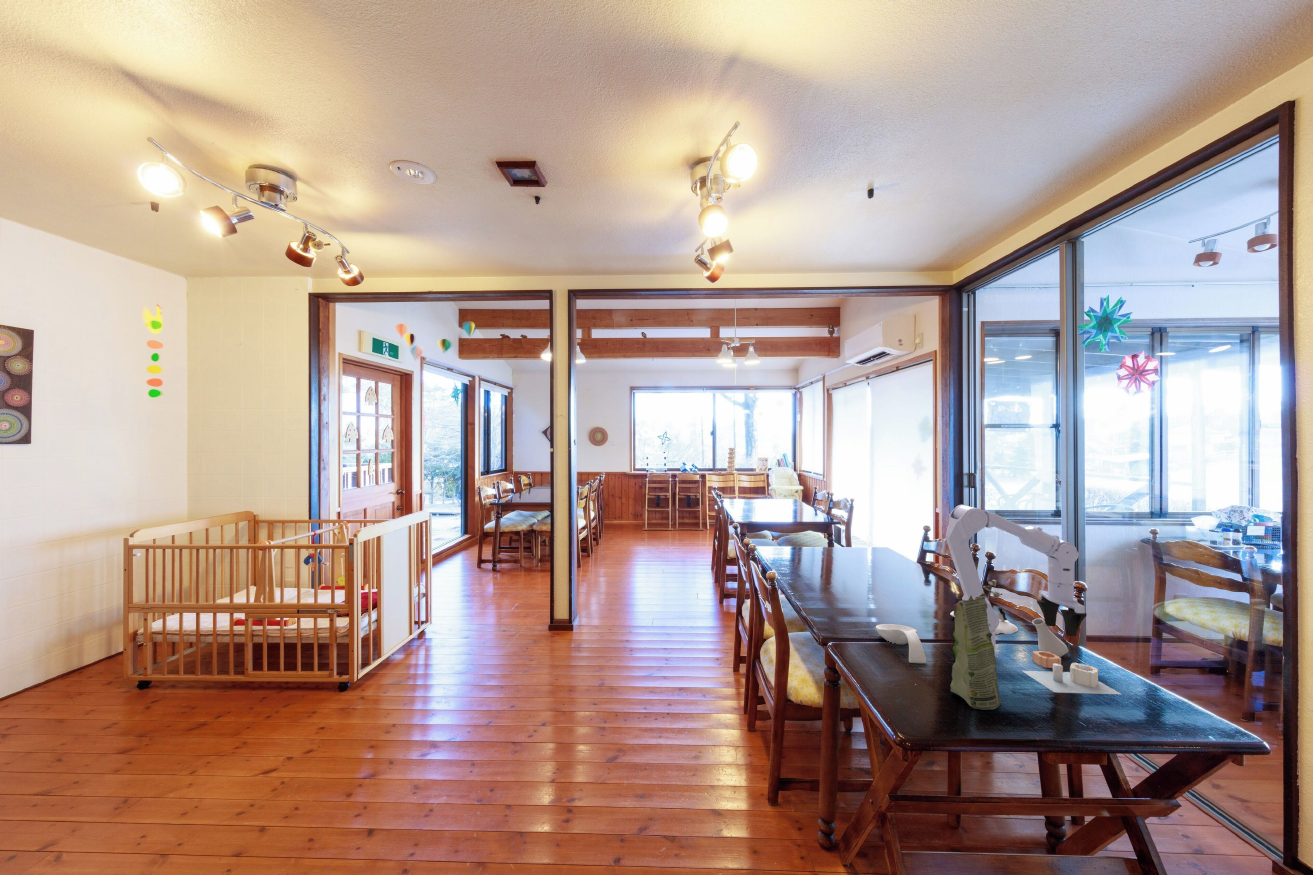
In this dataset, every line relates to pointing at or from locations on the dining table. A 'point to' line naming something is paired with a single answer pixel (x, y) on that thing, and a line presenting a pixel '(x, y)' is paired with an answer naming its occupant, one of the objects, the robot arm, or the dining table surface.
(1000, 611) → the figurine
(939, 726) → the dining table surface
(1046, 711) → the dining table surface
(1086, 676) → the gear
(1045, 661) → the gear
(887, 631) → the spoon rest
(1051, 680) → the gear board
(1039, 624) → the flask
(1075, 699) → the dining table surface
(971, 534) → the robot arm
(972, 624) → the pouch
